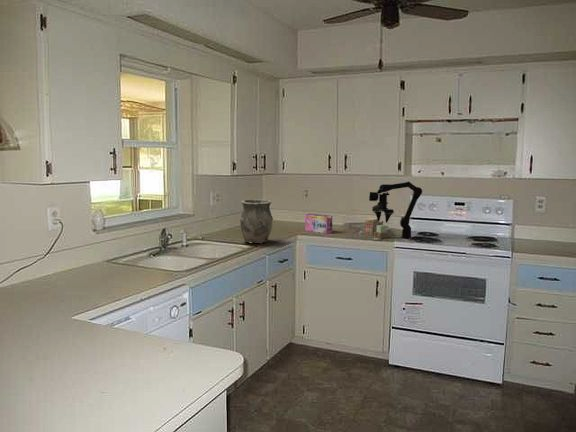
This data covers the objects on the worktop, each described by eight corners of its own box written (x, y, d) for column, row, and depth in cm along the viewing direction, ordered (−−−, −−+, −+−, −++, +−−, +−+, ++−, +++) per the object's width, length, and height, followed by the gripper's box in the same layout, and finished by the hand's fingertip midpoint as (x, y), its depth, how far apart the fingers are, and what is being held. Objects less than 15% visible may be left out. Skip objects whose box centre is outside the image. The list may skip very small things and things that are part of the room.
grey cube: (391, 235, 369) (391, 229, 368) (386, 235, 367) (386, 229, 366) (387, 234, 373) (387, 228, 373) (382, 234, 371) (382, 228, 371)
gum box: (333, 232, 381) (334, 216, 379) (328, 234, 375) (328, 217, 373) (310, 229, 397) (310, 213, 395) (304, 230, 391) (304, 214, 389)
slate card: (383, 240, 348) (383, 239, 348) (375, 240, 345) (375, 239, 345) (377, 238, 354) (377, 237, 354) (369, 239, 351) (369, 238, 351)
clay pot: (236, 244, 331) (236, 201, 327) (245, 238, 353) (244, 198, 349) (268, 245, 327) (268, 202, 323) (275, 239, 349) (274, 199, 345)
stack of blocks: (375, 231, 389) (376, 216, 387) (383, 232, 385) (383, 216, 384) (365, 235, 371) (365, 219, 369) (372, 235, 368) (372, 220, 366)
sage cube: (385, 232, 357) (386, 225, 357) (380, 232, 355) (380, 226, 354) (381, 231, 362) (381, 225, 361) (376, 232, 360) (376, 225, 359)
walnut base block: (388, 237, 357) (388, 232, 357) (380, 238, 354) (380, 233, 353) (382, 236, 364) (382, 231, 364) (373, 237, 361) (373, 231, 360)
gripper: (366, 200, 361) (366, 220, 363) (382, 202, 344) (381, 224, 346) (378, 199, 366) (378, 220, 368) (394, 202, 349) (393, 223, 351)
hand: (382, 221), depth 358 cm, fingers open, 9 cm apart
